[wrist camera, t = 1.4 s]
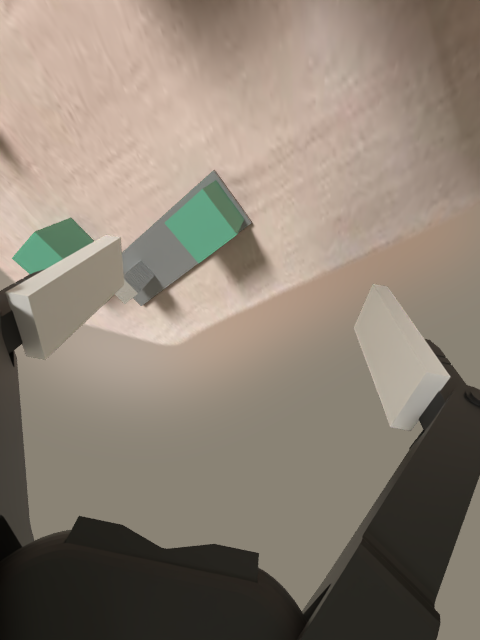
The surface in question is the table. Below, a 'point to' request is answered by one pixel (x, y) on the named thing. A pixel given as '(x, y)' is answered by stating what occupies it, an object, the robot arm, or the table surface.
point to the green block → (51, 245)
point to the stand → (186, 235)
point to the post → (134, 281)
